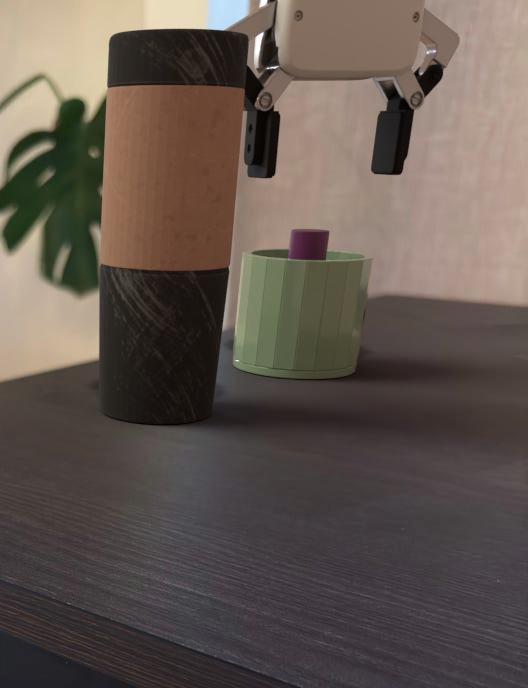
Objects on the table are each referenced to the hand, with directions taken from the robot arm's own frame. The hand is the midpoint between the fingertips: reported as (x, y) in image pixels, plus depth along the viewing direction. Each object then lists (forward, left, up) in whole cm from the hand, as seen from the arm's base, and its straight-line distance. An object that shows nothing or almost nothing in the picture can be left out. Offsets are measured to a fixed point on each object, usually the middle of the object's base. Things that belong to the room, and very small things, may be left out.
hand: (324, 175), depth 66 cm
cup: (+1, 0, -13) cm, 13 cm away
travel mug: (+16, +11, -13) cm, 23 cm away
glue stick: (+1, 0, -12) cm, 13 cm away
